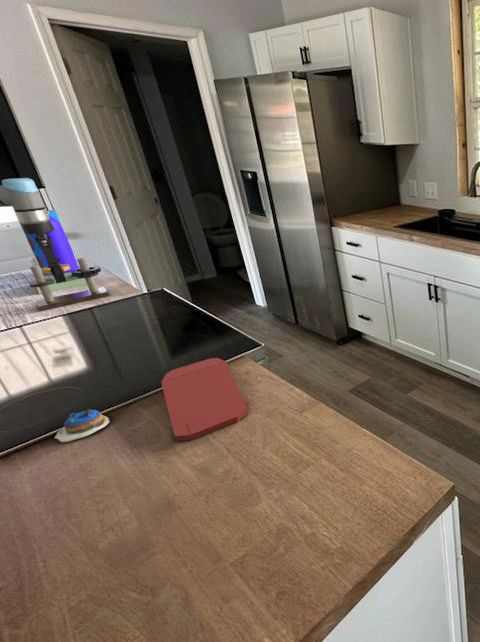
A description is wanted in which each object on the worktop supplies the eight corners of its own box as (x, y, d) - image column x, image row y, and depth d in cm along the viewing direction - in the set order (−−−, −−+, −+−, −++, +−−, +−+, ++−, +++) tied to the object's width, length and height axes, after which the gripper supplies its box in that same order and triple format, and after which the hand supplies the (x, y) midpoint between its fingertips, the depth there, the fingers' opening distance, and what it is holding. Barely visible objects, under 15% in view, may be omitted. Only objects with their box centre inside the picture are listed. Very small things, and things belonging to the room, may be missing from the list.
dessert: (121, 413, 85) (94, 404, 80) (105, 446, 82) (76, 439, 77) (85, 415, 86) (56, 406, 81) (67, 448, 82) (36, 441, 77)
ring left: (37, 273, 153) (35, 270, 153) (55, 267, 160) (53, 264, 159) (58, 273, 154) (57, 269, 154) (75, 267, 161) (74, 263, 160)
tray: (37, 285, 159) (34, 278, 158) (84, 276, 168) (82, 270, 167) (39, 294, 150) (36, 287, 149) (89, 284, 159) (86, 278, 158)
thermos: (36, 274, 171) (9, 215, 162) (67, 266, 181) (43, 210, 172) (55, 276, 169) (28, 216, 160) (85, 268, 178) (62, 211, 169)
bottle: (53, 276, 169) (21, 203, 158) (81, 271, 175) (52, 200, 164) (52, 281, 164) (18, 205, 153) (81, 275, 169) (51, 202, 158)
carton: (253, 428, 87) (226, 367, 102) (249, 411, 85) (221, 351, 100) (183, 458, 79) (164, 386, 95) (175, 440, 77) (158, 370, 92)
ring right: (66, 277, 141) (64, 273, 140) (84, 270, 147) (82, 266, 147) (89, 276, 141) (87, 272, 141) (106, 269, 148) (104, 265, 148)
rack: (40, 312, 135) (20, 270, 130) (39, 306, 140) (20, 265, 135) (109, 296, 147) (94, 258, 142) (106, 291, 152) (91, 254, 147)
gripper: (52, 224, 147) (77, 283, 155) (48, 216, 159) (72, 272, 167) (21, 227, 141) (48, 289, 150) (19, 219, 154) (45, 277, 162)
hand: (61, 280), depth 158 cm, fingers closed on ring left, 7 cm apart
